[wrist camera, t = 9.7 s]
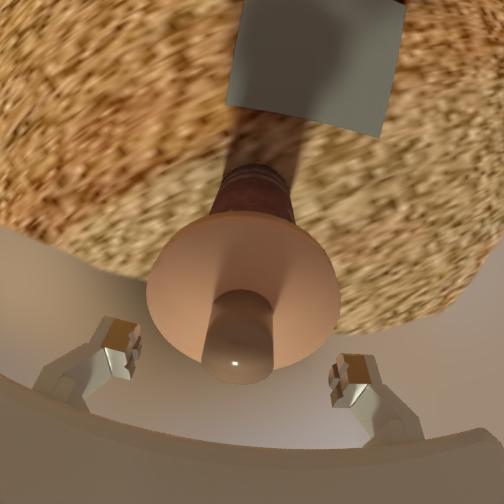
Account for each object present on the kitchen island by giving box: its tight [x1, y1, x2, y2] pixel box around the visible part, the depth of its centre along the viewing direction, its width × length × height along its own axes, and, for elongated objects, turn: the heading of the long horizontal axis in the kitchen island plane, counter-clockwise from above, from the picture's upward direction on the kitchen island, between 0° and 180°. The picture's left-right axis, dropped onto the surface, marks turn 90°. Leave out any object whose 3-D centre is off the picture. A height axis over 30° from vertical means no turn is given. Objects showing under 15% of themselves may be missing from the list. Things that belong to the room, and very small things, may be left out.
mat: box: [225, 0, 406, 138], centre depth 19 cm, size 13×13×1 cm
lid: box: [147, 211, 341, 385], centre depth 13 cm, size 9×9×4 cm
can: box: [209, 164, 296, 225], centre depth 21 cm, size 6×6×14 cm
